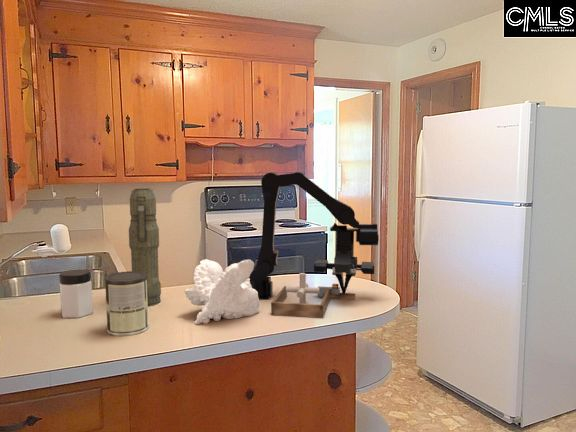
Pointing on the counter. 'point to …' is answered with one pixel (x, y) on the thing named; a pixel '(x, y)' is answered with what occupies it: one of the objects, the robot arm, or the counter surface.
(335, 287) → the pin
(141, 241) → the thermos
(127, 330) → the coffee can
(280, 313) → the dock cradle
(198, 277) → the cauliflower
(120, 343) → the counter surface
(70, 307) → the jar
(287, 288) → the pipe connector
